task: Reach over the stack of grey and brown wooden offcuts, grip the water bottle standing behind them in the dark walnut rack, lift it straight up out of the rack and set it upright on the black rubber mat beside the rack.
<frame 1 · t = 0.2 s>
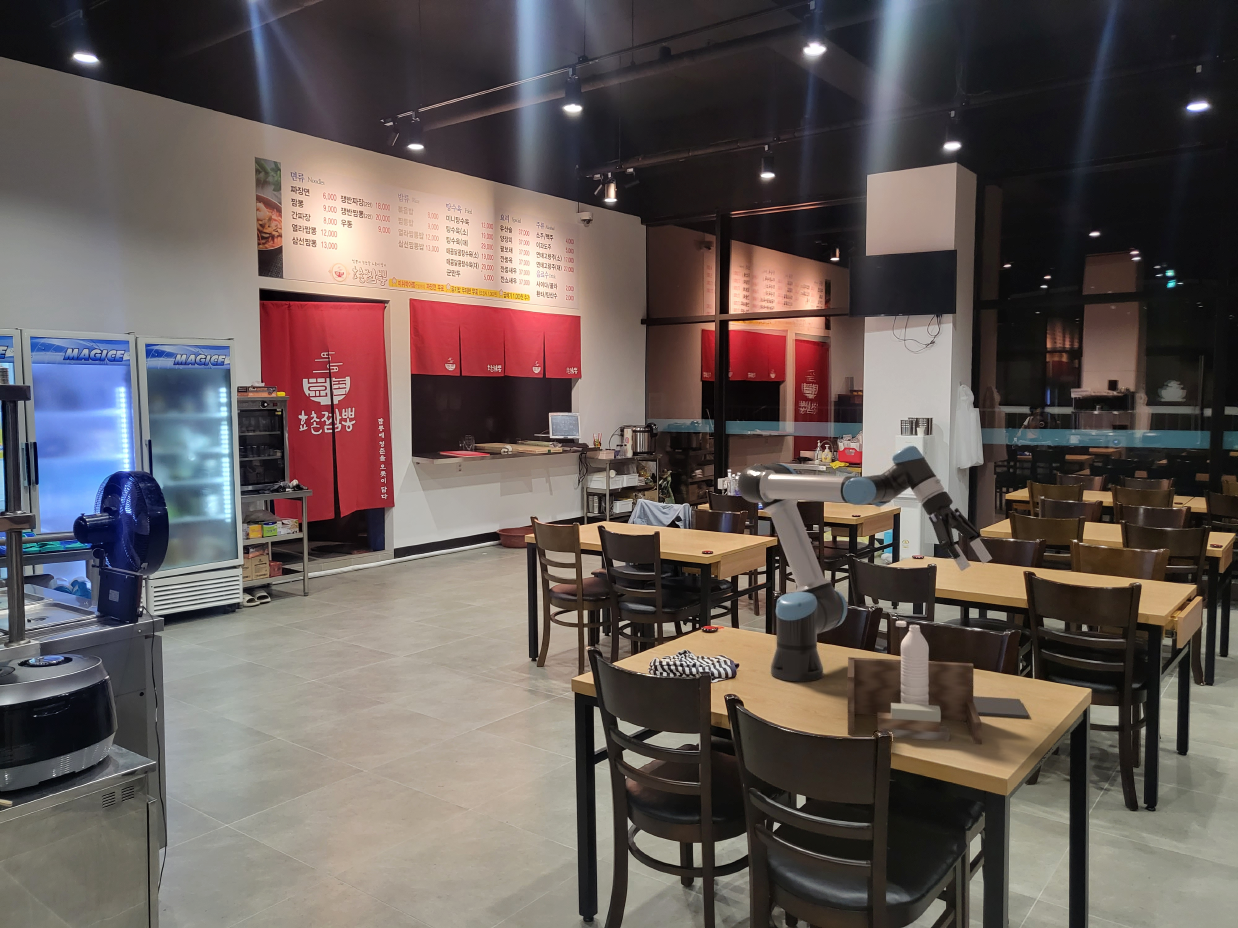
hand: (977, 564, 238), 36 cm above the table, tool tilted 35°, fingers open, 13 cm apart
rubber mat: (996, 708, 231), on the table
offcut bottom: (912, 737, 214), on the table
offcut middle: (908, 727, 213), point 2 cm above the table, touching offcut top
walnut rack: (911, 725, 220), on the table
water bottle: (910, 725, 221), on the table
offcut top: (915, 717, 213), point 4 cm above the table, touching offcut middle
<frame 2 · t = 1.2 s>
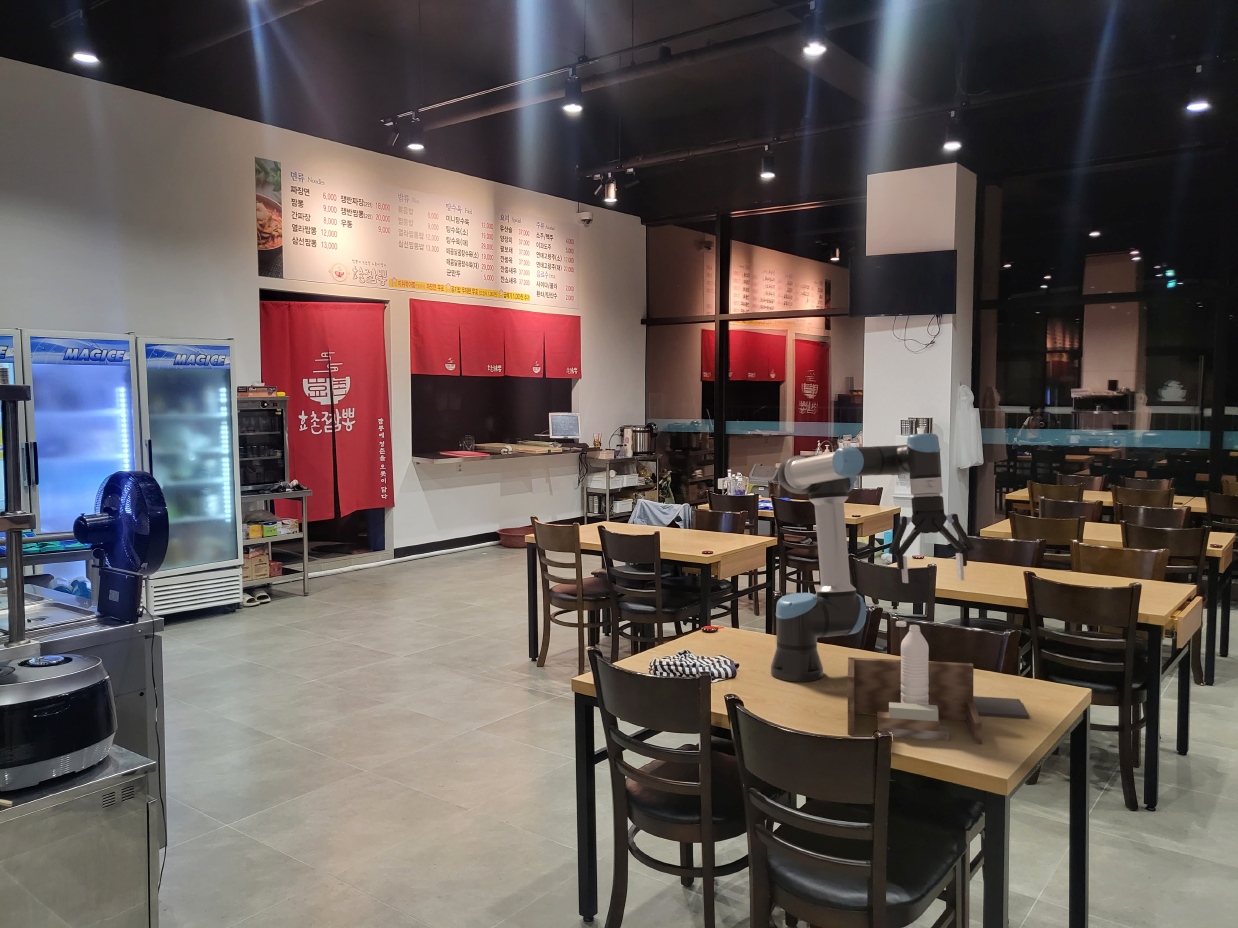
hand: (933, 581, 222), 35 cm above the table, tool pointing down, fingers open, 13 cm apart
offcut bottom: (912, 736, 214), on the table, touching offcut middle
offcut middle: (907, 726, 214), point 2 cm above the table, touching offcut bottom, offcut top
everything else where it was.
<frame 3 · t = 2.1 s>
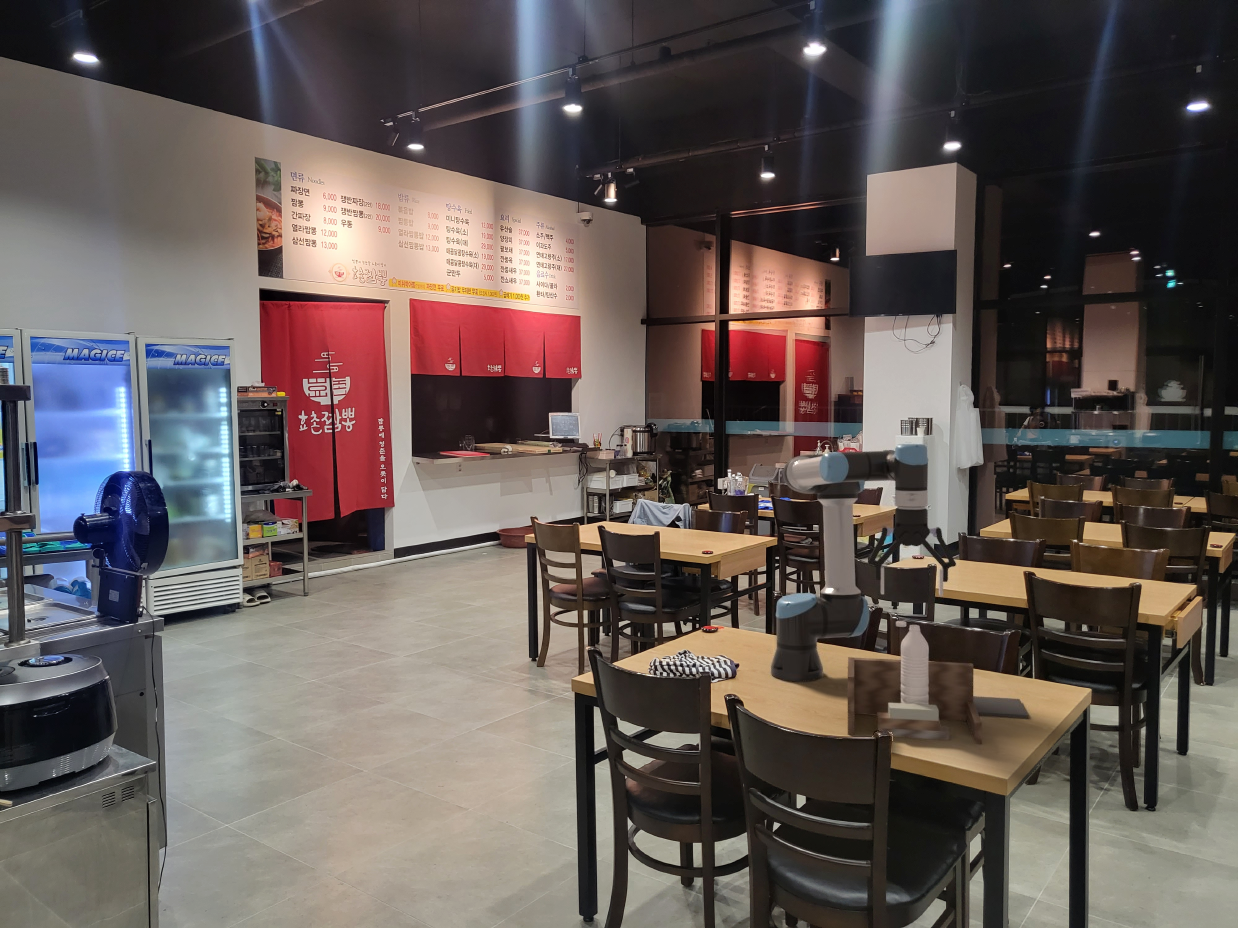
hand: (911, 594, 219), 32 cm above the table, tool pointing down, fingers open, 13 cm apart
nothing on the table moved.
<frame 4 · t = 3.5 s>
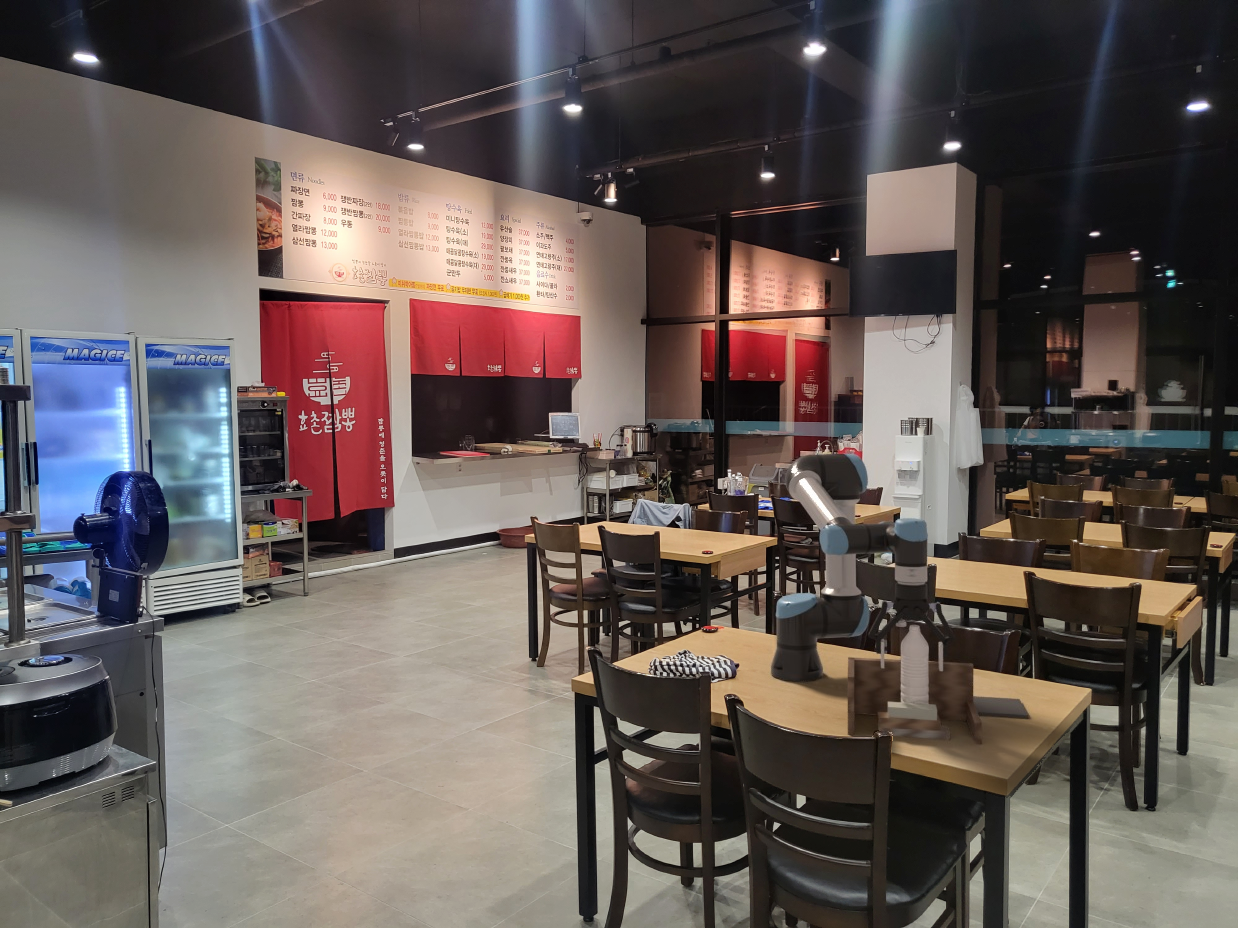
hand: (911, 668, 220), 14 cm above the table, tool pointing down, fingers open, 13 cm apart
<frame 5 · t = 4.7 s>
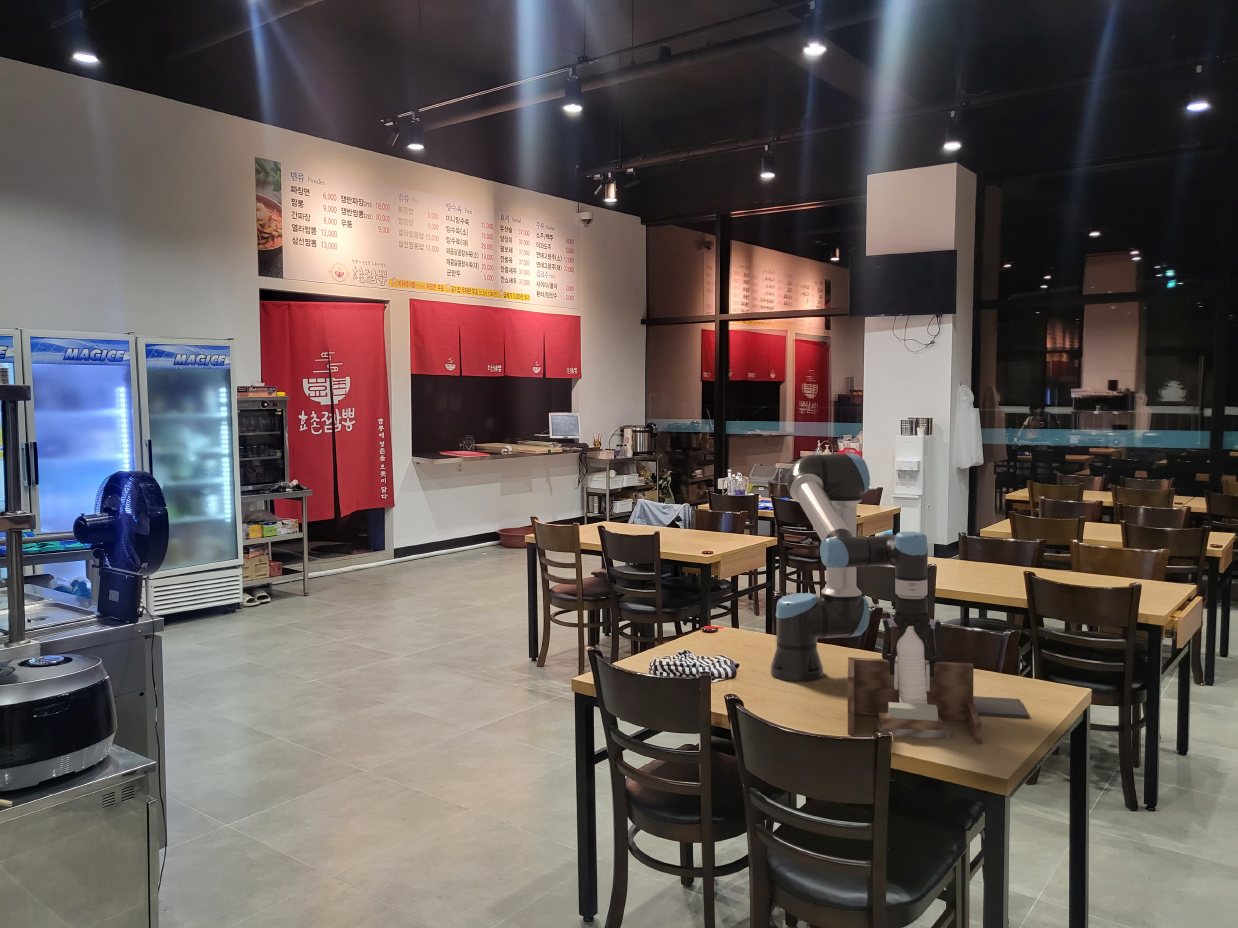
hand: (911, 688, 220), 9 cm above the table, tool pointing down, fingers closed on water bottle, 7 cm apart
water bottle: (911, 724, 221), on the table, touching gripper
when the fingers open (11 cm above the table, at t = 13.7 s): water bottle drops 1 cm, resting on rubber mat.
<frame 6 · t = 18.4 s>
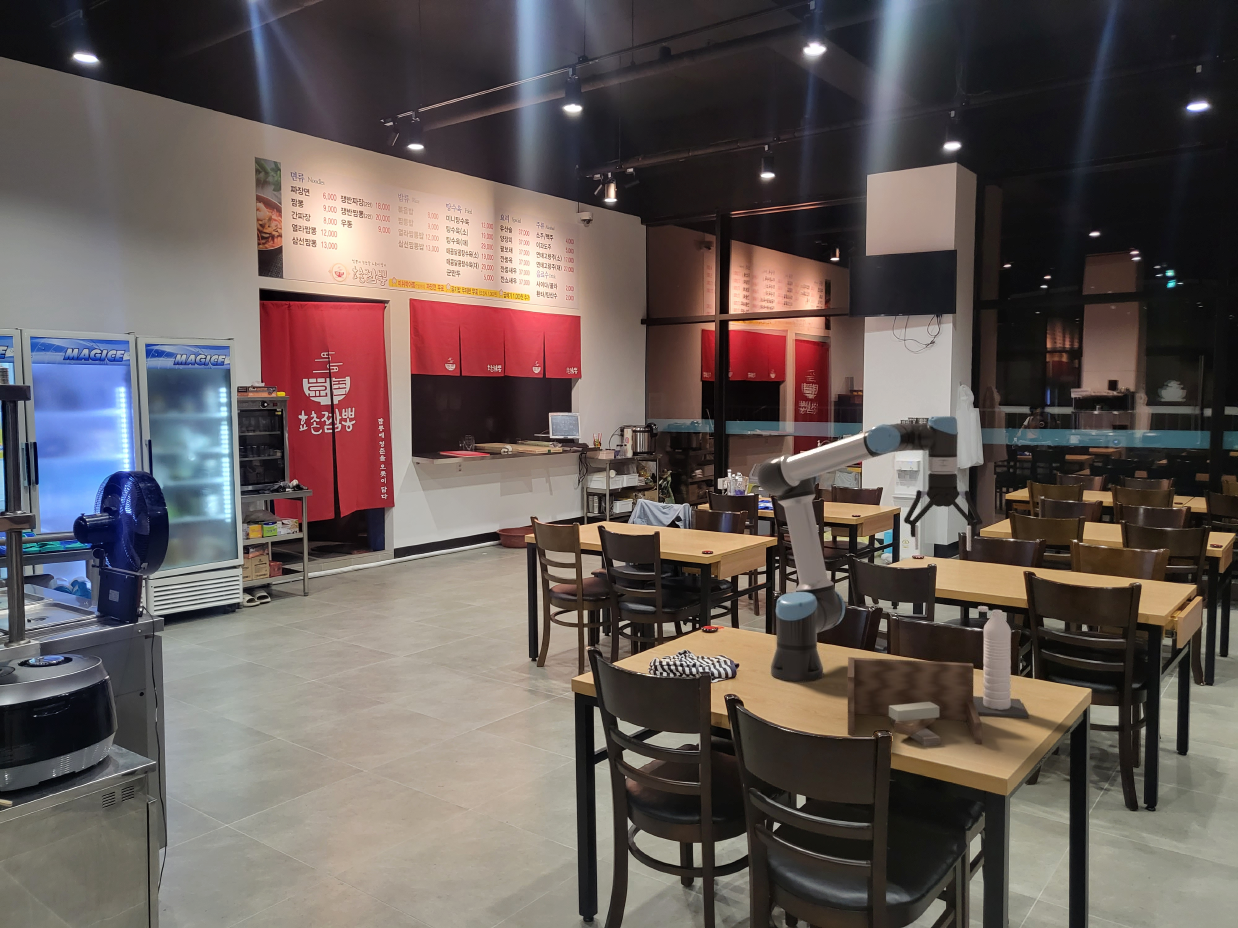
hand: (942, 549, 247), 39 cm above the table, tool pointing down, fingers open, 13 cm apart
offcut middle: (915, 726, 215), point 2 cm above the table, touching offcut bottom, offcut top
water bottle: (993, 705, 232), point 1 cm above the table, touching rubber mat
at the end: water bottle inside the target area on the rubber mat (0.9 cm from its centre), point 0.6 cm above the rubber mat's base; water bottle tilted 0°; offcut top moved 1.6 cm from its start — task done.
